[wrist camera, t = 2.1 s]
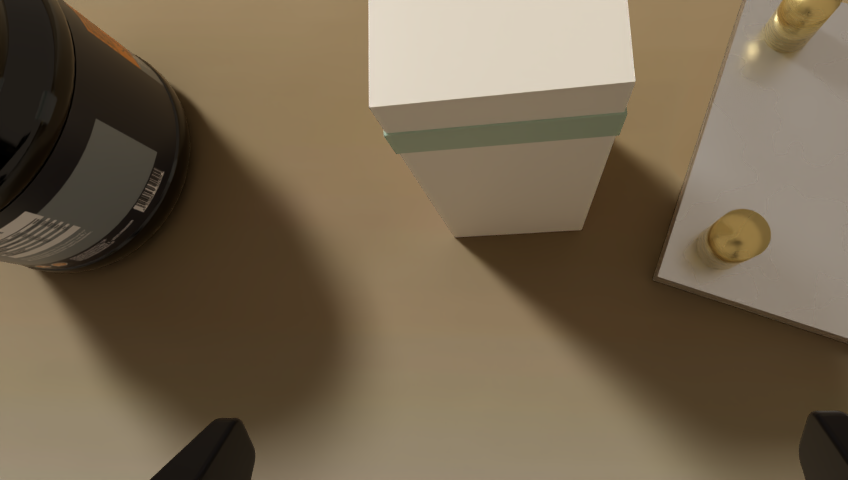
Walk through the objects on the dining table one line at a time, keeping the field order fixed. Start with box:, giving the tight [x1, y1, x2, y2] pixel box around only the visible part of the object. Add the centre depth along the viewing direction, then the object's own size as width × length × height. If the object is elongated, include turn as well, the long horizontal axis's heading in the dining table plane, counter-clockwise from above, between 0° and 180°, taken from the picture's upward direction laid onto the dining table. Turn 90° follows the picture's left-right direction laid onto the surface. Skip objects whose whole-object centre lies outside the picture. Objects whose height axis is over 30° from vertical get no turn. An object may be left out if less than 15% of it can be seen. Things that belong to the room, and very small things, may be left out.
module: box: [369, 0, 635, 237], centre depth 18 cm, size 5×5×13 cm
